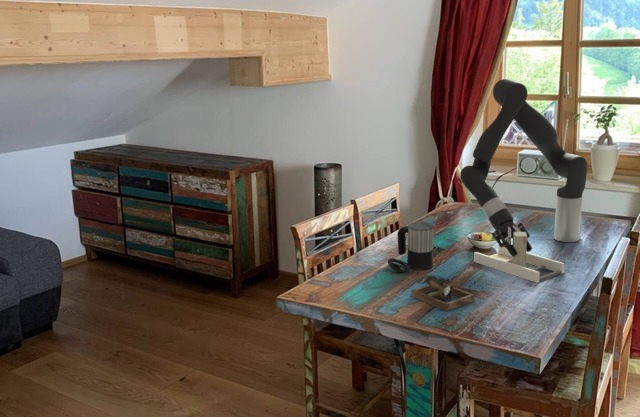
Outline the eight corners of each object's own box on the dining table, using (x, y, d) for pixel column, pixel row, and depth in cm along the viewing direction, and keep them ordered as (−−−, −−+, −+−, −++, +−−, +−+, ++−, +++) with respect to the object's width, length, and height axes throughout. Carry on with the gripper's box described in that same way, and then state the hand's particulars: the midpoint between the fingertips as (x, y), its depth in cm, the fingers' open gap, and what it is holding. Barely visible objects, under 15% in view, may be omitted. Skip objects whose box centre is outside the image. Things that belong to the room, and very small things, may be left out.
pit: (543, 268, 233) (543, 265, 233) (560, 274, 227) (561, 270, 227) (522, 275, 227) (522, 272, 226) (540, 281, 221) (540, 278, 221)
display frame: (438, 287, 219) (439, 281, 219) (474, 301, 207) (474, 294, 207) (411, 296, 213) (411, 290, 212) (446, 311, 201) (446, 304, 200)
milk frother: (436, 263, 242) (437, 223, 238) (424, 277, 228) (424, 235, 224) (398, 258, 248) (398, 219, 244) (384, 272, 234) (383, 231, 230)
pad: (497, 254, 249) (497, 253, 249) (514, 259, 242) (514, 258, 242) (476, 260, 243) (476, 259, 243) (494, 266, 236) (494, 265, 236)
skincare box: (525, 271, 231) (527, 236, 228) (512, 270, 232) (514, 236, 229) (524, 264, 237) (525, 231, 234) (511, 264, 238) (512, 230, 235)
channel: (499, 253, 250) (500, 244, 249) (563, 273, 228) (564, 263, 227) (473, 261, 242) (474, 252, 241) (537, 282, 220) (537, 272, 220)
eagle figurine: (453, 290, 213) (425, 283, 215) (456, 277, 208) (427, 270, 210) (449, 310, 209) (420, 302, 211) (451, 297, 203) (422, 289, 205)
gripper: (489, 211, 231) (515, 251, 225) (517, 204, 239) (543, 243, 233) (477, 222, 237) (502, 262, 231) (504, 215, 245) (529, 254, 239)
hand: (522, 252), depth 232 cm, fingers closed on skincare box, 7 cm apart
